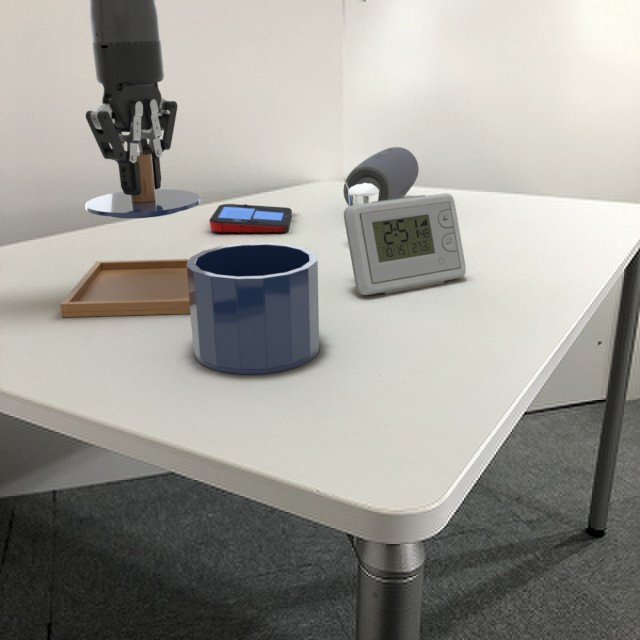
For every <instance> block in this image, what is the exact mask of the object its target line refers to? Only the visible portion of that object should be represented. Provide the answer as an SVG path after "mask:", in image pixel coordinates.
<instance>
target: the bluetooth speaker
mask: <svg viewBox="0 0 640 640" xmlns="http://www.w3.org/2000/svg"><path fill="white" fill-rule="evenodd" d="M419 167H420V166H419V162H418V160H417V158H416V156H415V155H414V154H413V153H412V151H410V150H408V149H407V148H405V147H401V146H400V147H399V146H393V147H389V148H385V149H383V150H380V151H378V152H376V153H373V155H370V156H369V157H367V158H365V160H363V161H361V162H360V163H359V164H358V165H357V166H355V167H354V168H353V169H352V170H351V171H350V172H349V174H348V175H347V177H346V178H345V180H346V183H347V185H348V188H349V189H350V188H351V187H352V186H355V185H357V184H363V183H368V184H369V183H370V184H373V185H374V186H376V187H377V188H378V190H379V197H378V201H382V200H390V199H398V198H405V196H406V195H407V194H408V192H409V191H410V190H411V189H412V187H413V186H414V184H415V183H416V181H417V179H418V177H419V172H420V169H419ZM342 191H343V197H344V200H345V202H346V204H347V207H349V197H348V189H347V186H346V184H345V183H344V184H343V190H342Z"/></svg>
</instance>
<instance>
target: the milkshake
mask: <svg viewBox="0 0 640 640" xmlns="http://www.w3.org/2000/svg"><path fill="white" fill-rule="evenodd" d="M342 179H343V181H344V184H346V186H347V189H348V197H349V206H352V205H358V204H366V203H371V202H374V201H378V197H379V190H378V188H377V187H376V186H374V185H373V184H370V183H369V184H368V183H363V184H357V185H355V186H352V187H351V188H350V189H349V188H348V185H347V183H346V178H345V176H343V177H342ZM349 206H348V207H349Z"/></svg>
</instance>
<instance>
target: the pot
mask: <svg viewBox="0 0 640 640" xmlns="http://www.w3.org/2000/svg"><path fill="white" fill-rule="evenodd" d="M188 259H189V261H188V263H187V276H188V288H189V301H190V313H191V314H190V322H191V336H192V349H193V353H194V357H195V359H196V360H197V361H198V362H199V363H200V364H201V365H203V366H205V367H207V368H209V369H211V370H213V371H216V372H217V371H218V372H222V373H225V374H227V373H228V374H235V375H266V374H267V375H268V374H273V373H280V372H284V371H288V370H292V369H295V368H297V367H301V366H303V365H305V364H306V363H308V362H311V360H313V359H314V358H315V357H316V356H317V354H318V352H319V349H320V320H319V319H320V317H319V270H318V269H319V268H318V267H319V266H318V263H319V262H318V255H317V253H316V252H313V251H312V250H311V249H308V248H306V247H302V246H298V245H293V244H288V243H275V242H247V243H246V242H244V243H235V244H229V245H220V246H216V247H213V248H208V249H205V250H202V251H200V252H198V253H195V254H194V255H192V256H190V257H189V258H188Z"/></svg>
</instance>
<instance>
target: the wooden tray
mask: <svg viewBox="0 0 640 640" xmlns="http://www.w3.org/2000/svg"><path fill="white" fill-rule="evenodd" d="M189 259H190V258H182V259H180V258H179V259H176V258H175V259H143V260H142V259H141V260H139V259H138V260H103V261H102V260H100V261H99V260H97V261H95V262H94V264H93V265H92V266H91V267H90V268H89V269H88V271H87V272H86V273H85V274H84V275H83V277H81V279H80V280H79V282H78V283H77V284H76V285H75V286H74V287H73V289H72V290H71V291H70V292H69V293H68V294H67V296H66V297H65V298H64V299H63V301H62V302H61V303H60V311H61V317H62V318H84V317H85V318H86V317H87V318H88V317H119V316H121V317H122V316H124V317H125V316H155V315H156V316H157V315H189V314H190V315H191V313H190V301H189V288H188V276H187V263H188V261H189Z"/></svg>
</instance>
